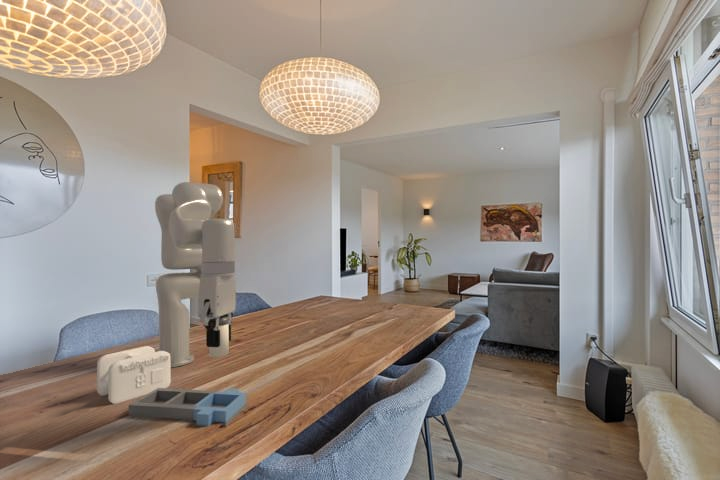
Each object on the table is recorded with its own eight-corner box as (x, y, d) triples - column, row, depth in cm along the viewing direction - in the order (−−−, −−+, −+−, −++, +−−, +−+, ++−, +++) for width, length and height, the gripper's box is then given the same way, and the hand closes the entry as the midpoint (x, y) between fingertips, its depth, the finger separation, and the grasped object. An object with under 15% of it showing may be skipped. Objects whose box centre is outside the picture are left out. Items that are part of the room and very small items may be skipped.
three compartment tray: (121, 423, 83) (121, 408, 83) (163, 397, 97) (163, 384, 97) (221, 431, 79) (221, 415, 79) (249, 403, 93) (249, 389, 93)
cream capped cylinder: (205, 357, 85) (205, 319, 85) (215, 351, 89) (215, 315, 89) (222, 357, 84) (222, 319, 84) (232, 352, 89) (232, 316, 89)
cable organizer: (155, 381, 108) (155, 343, 108) (171, 390, 102) (171, 349, 102) (96, 399, 96) (96, 356, 96) (110, 410, 90) (110, 364, 90)
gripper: (222, 267, 96) (223, 334, 96) (182, 271, 79) (183, 353, 79) (248, 266, 95) (249, 335, 94) (213, 271, 78) (214, 355, 78)
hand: (219, 342), depth 87 cm, fingers closed on cream capped cylinder, 4 cm apart
